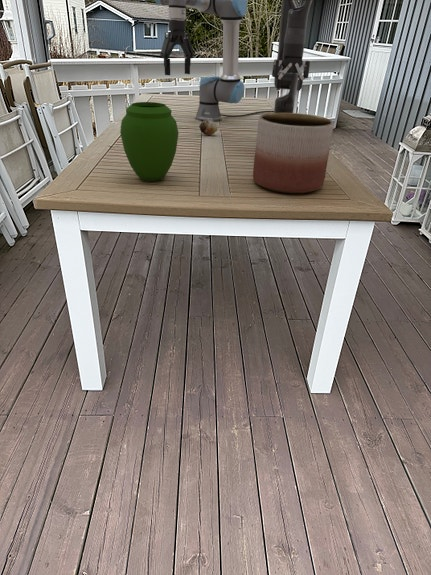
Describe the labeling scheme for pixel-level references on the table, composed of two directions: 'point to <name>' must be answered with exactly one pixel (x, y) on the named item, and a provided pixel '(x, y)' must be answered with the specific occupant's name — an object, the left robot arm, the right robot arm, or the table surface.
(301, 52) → the right robot arm
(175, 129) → the vase
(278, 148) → the planter
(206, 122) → the seashell
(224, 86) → the left robot arm
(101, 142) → the table surface
